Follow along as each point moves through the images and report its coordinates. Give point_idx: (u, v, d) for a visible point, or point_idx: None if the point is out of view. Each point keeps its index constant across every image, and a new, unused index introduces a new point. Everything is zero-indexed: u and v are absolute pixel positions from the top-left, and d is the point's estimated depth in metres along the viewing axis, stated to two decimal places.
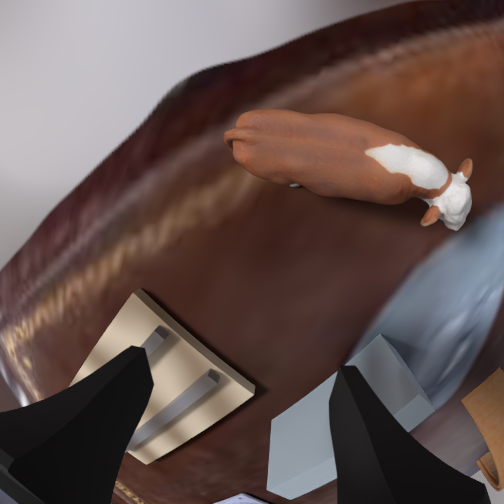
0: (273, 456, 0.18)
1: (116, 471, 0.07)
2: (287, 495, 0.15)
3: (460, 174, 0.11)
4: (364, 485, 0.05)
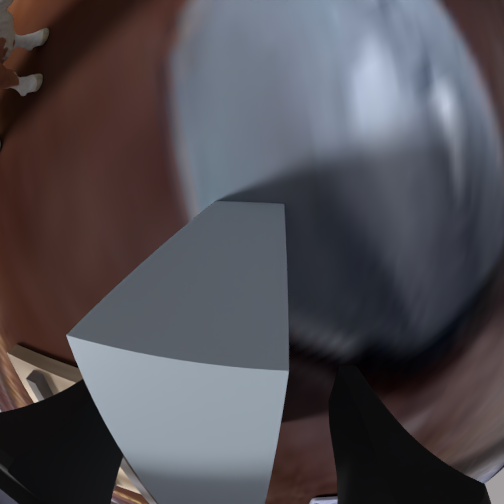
0: None
1: (116, 471, 0.07)
2: None
3: None
4: (364, 485, 0.05)
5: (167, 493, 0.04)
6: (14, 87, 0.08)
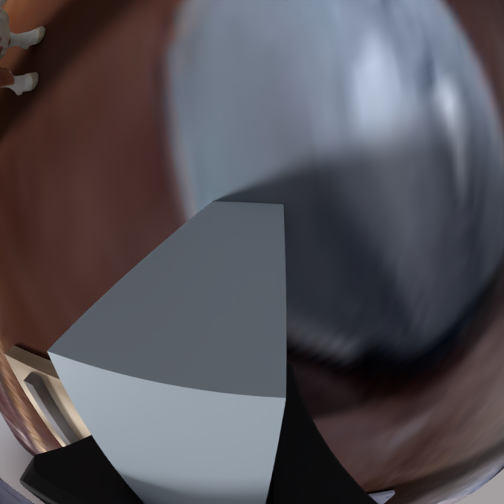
0: None
1: None
2: None
3: None
4: (270, 489, 0.05)
5: None
6: (10, 86, 0.07)
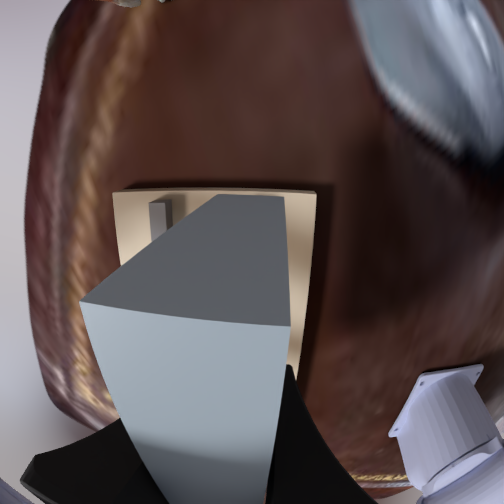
0: None
1: None
2: None
3: None
4: (270, 489, 0.05)
5: (169, 476, 0.04)
6: None
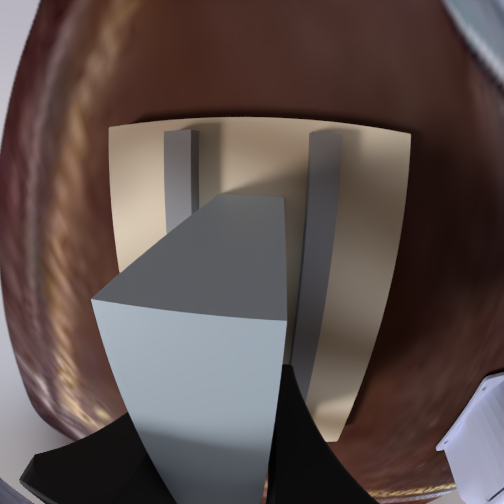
0: None
1: None
2: None
3: None
4: (271, 489, 0.05)
5: (173, 467, 0.05)
6: None
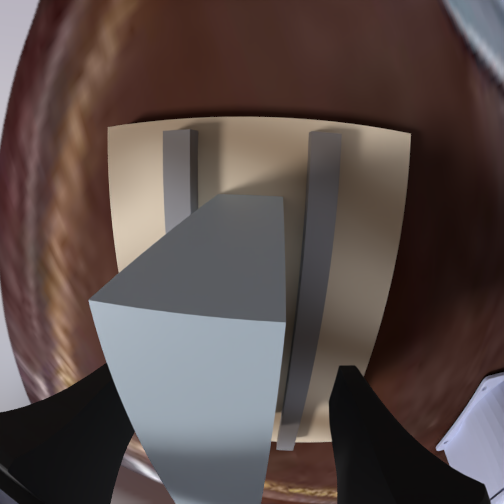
0: None
1: (116, 471, 0.07)
2: None
3: None
4: (364, 485, 0.05)
5: (171, 468, 0.05)
6: None
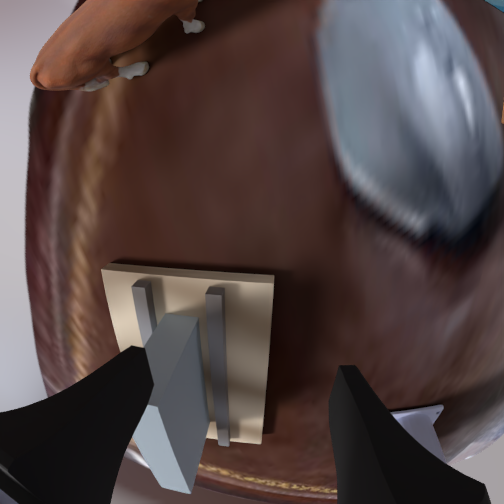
0: None
1: (116, 471, 0.07)
2: (182, 490, 0.15)
3: None
4: (364, 485, 0.05)
5: (141, 441, 0.13)
6: (188, 23, 0.12)
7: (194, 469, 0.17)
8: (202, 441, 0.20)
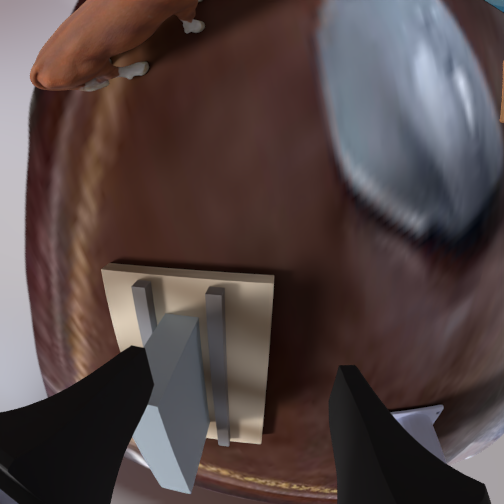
0: None
1: (116, 471, 0.07)
2: (182, 490, 0.15)
3: None
4: (364, 485, 0.05)
5: (141, 441, 0.13)
6: (187, 23, 0.12)
7: (194, 469, 0.17)
8: (202, 441, 0.20)
